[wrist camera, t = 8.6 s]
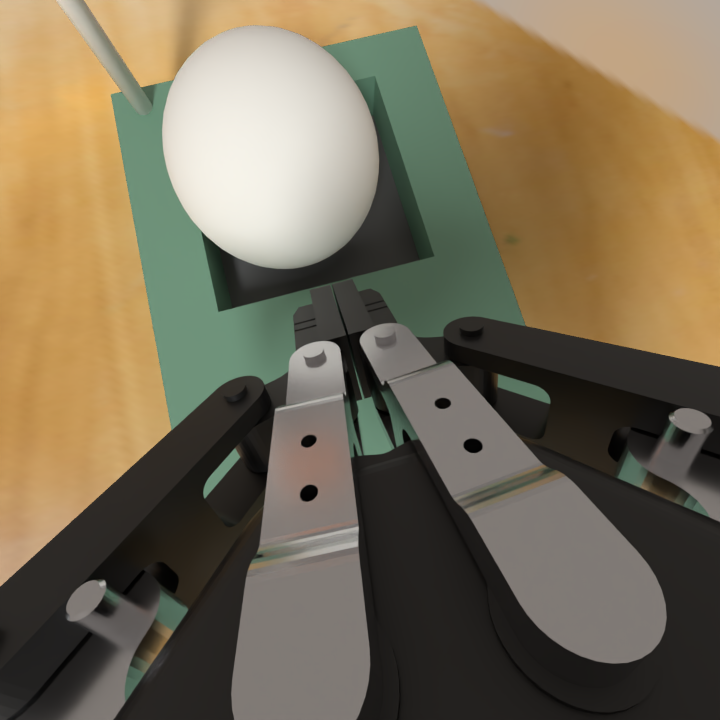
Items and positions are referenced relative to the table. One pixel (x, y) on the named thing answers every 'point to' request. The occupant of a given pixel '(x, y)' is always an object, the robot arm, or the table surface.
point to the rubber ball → (270, 147)
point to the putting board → (353, 261)
